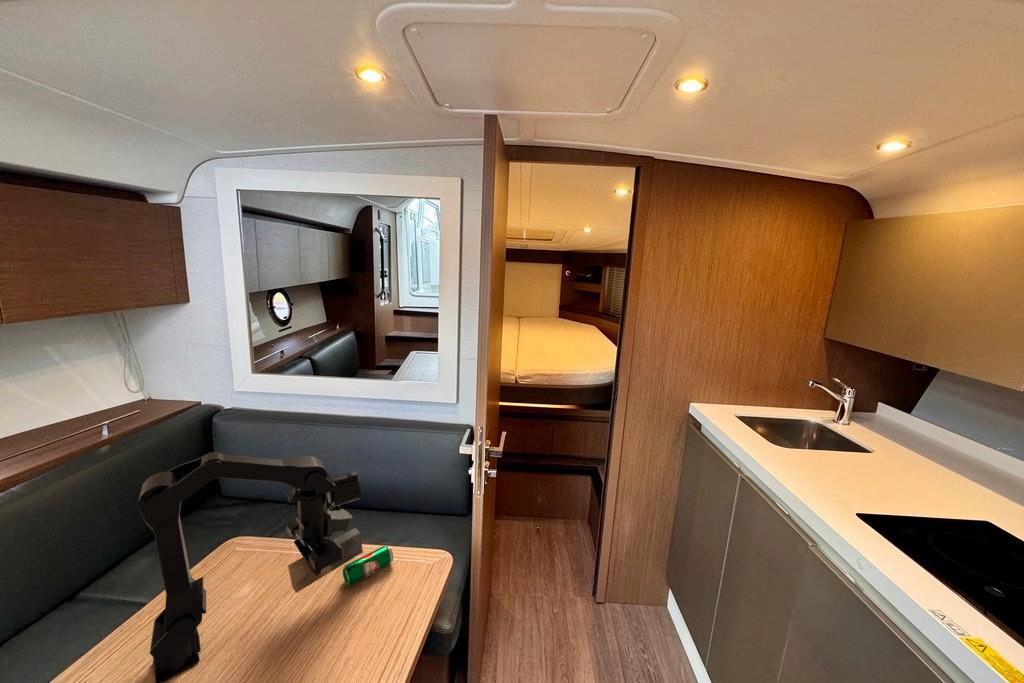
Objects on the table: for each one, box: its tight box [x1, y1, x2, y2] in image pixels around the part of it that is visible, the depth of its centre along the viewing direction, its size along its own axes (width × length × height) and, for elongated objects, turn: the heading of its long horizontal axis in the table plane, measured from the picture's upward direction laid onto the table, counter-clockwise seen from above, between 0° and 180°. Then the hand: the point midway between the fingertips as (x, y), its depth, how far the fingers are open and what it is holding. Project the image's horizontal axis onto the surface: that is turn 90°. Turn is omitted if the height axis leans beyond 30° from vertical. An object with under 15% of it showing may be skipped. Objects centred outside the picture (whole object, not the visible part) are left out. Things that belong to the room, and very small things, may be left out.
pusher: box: [287, 527, 364, 594], centre depth 93 cm, size 16×2×6 cm, turn 137°
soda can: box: [342, 545, 394, 586], centre depth 102 cm, size 5×5×12 cm
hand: (315, 571), depth 92 cm, fingers closed on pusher, 2 cm apart
